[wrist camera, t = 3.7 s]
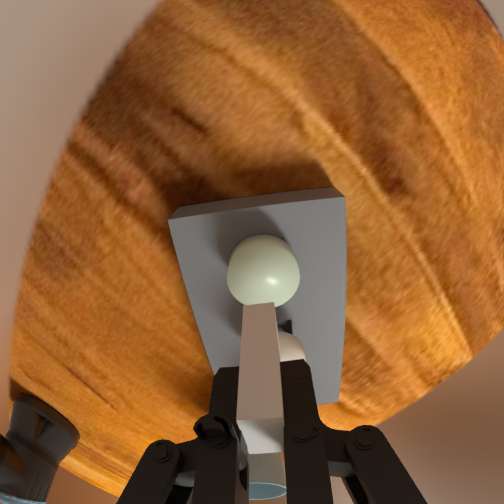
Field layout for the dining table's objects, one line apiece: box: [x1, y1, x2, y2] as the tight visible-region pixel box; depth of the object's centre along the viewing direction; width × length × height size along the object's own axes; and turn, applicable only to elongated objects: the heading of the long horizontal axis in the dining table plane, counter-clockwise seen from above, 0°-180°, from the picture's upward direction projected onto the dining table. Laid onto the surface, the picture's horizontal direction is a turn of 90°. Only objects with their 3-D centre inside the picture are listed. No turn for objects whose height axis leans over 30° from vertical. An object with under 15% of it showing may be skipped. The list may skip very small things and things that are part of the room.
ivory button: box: [277, 326, 306, 362], centre depth 22 cm, size 5×5×4 cm
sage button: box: [227, 235, 300, 307], centre depth 20 cm, size 5×5×4 cm
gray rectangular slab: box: [168, 187, 346, 405], centre depth 25 cm, size 12×22×3 cm, turn 8°
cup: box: [247, 452, 286, 500], centre depth 30 cm, size 8×8×10 cm
